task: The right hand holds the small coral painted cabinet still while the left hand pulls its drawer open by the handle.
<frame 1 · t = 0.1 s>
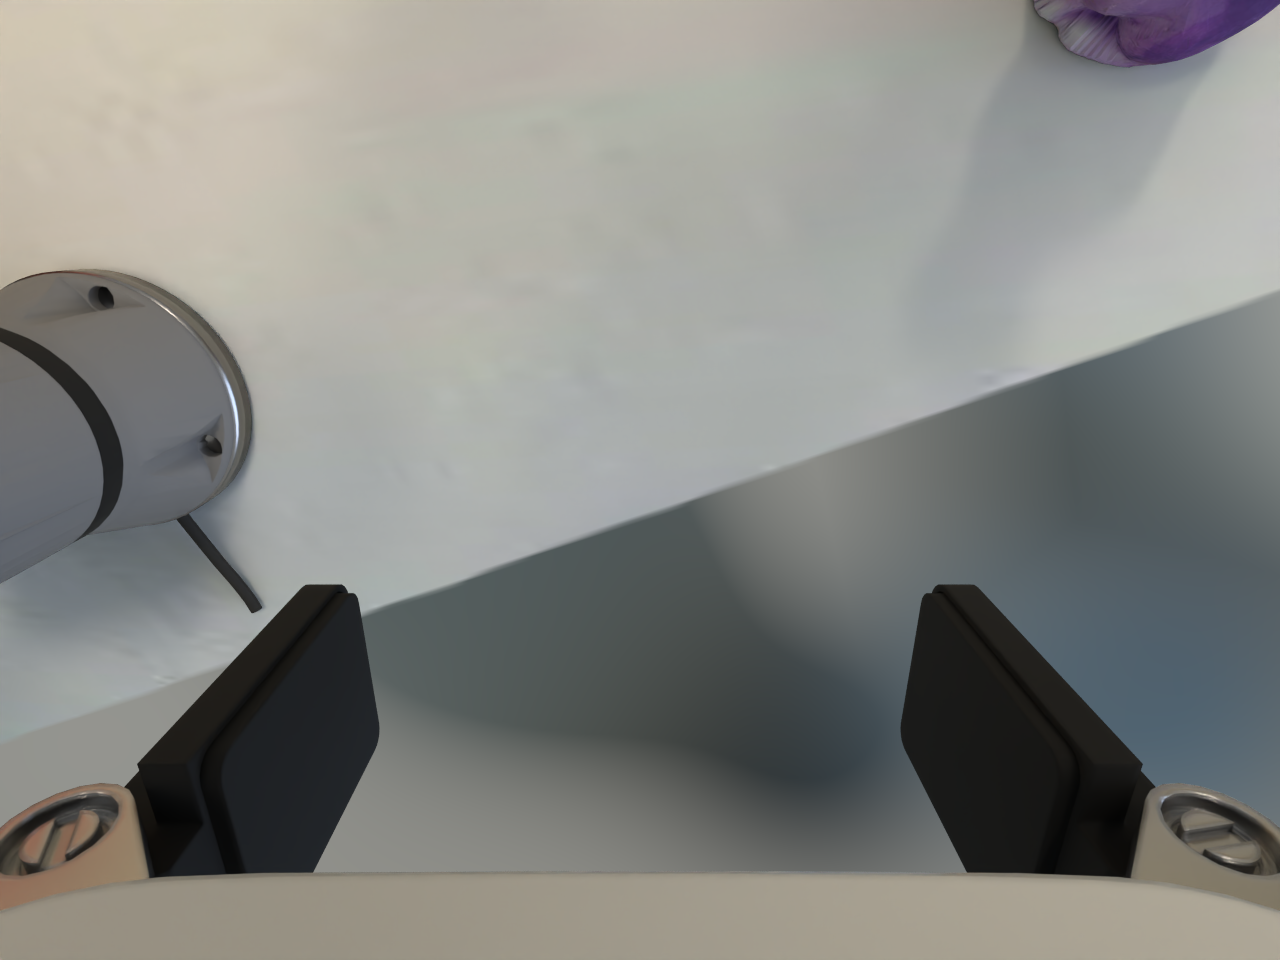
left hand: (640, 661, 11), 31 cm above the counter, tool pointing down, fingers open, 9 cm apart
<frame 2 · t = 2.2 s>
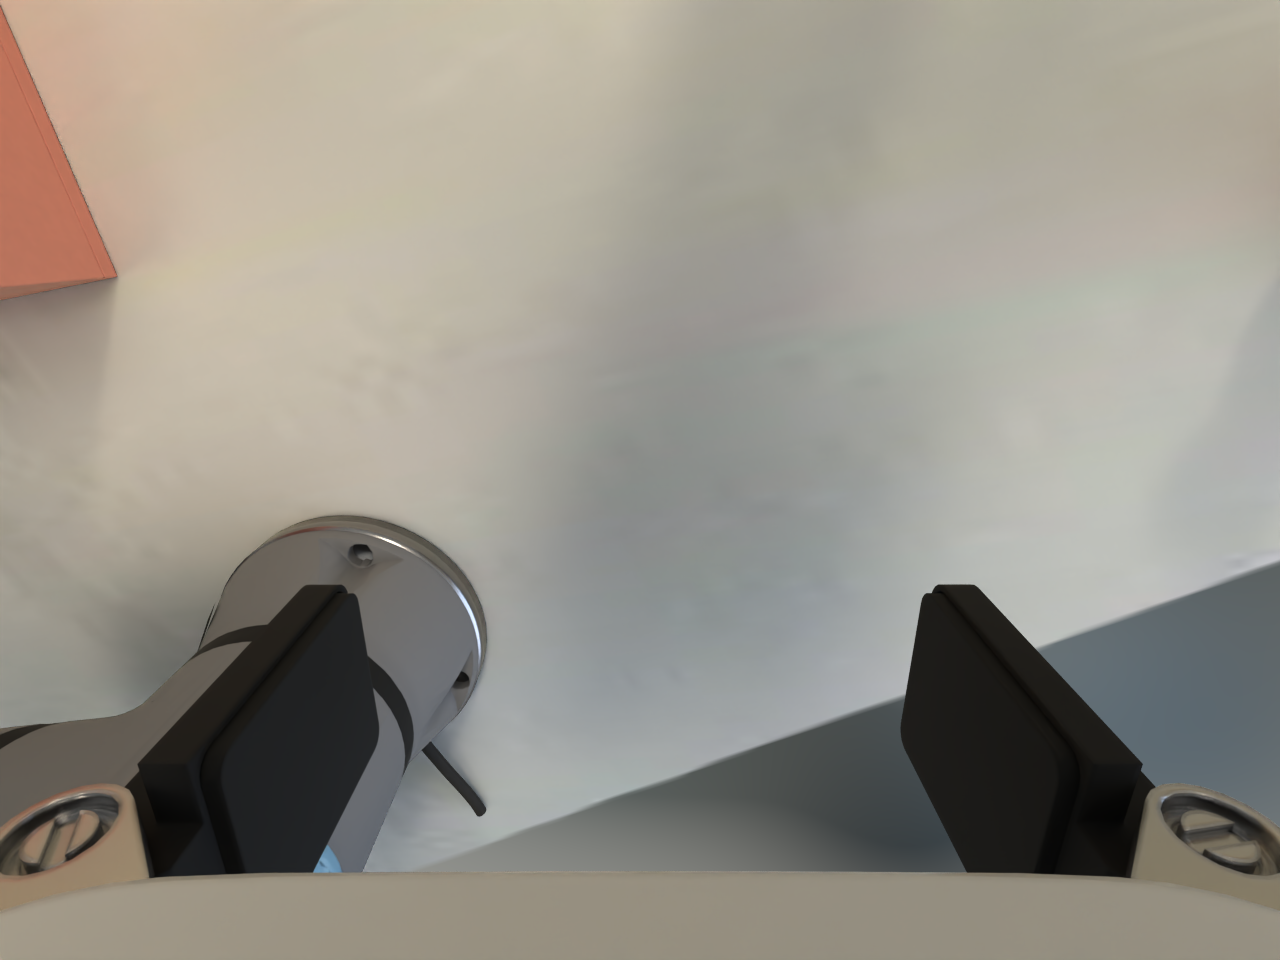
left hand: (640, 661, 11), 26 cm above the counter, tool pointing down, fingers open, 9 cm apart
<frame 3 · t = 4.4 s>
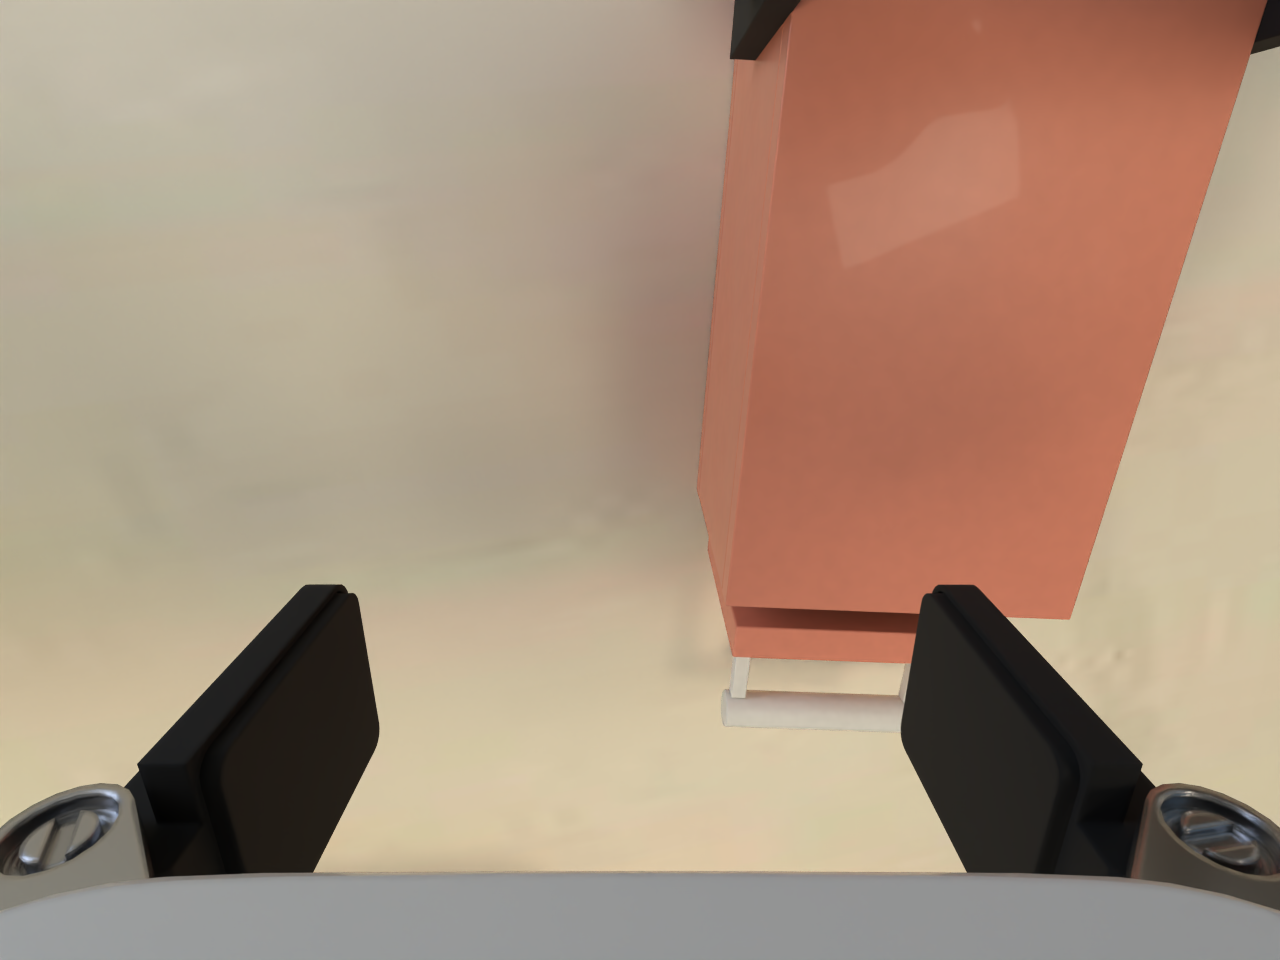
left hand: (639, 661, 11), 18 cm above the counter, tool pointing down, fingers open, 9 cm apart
drawer: (868, 444, 24), point 5 cm above the counter, slide at 1.3 cm
cabinet: (854, 257, 26), on the counter, touching right hand
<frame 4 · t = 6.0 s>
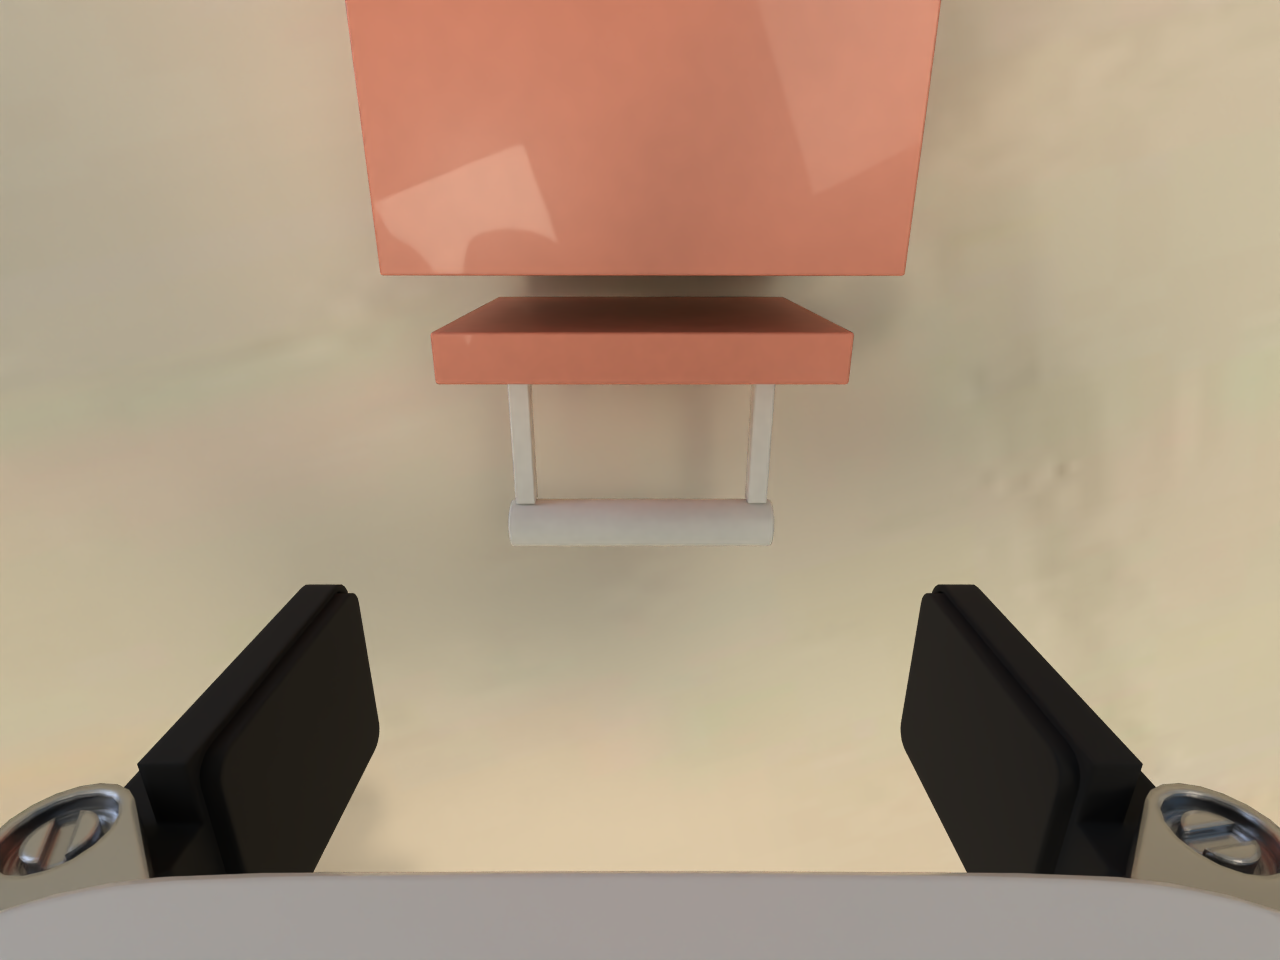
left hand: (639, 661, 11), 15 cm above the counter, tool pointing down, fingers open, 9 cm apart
drawer: (641, 98, 17), point 5 cm above the counter, slide at 1.3 cm
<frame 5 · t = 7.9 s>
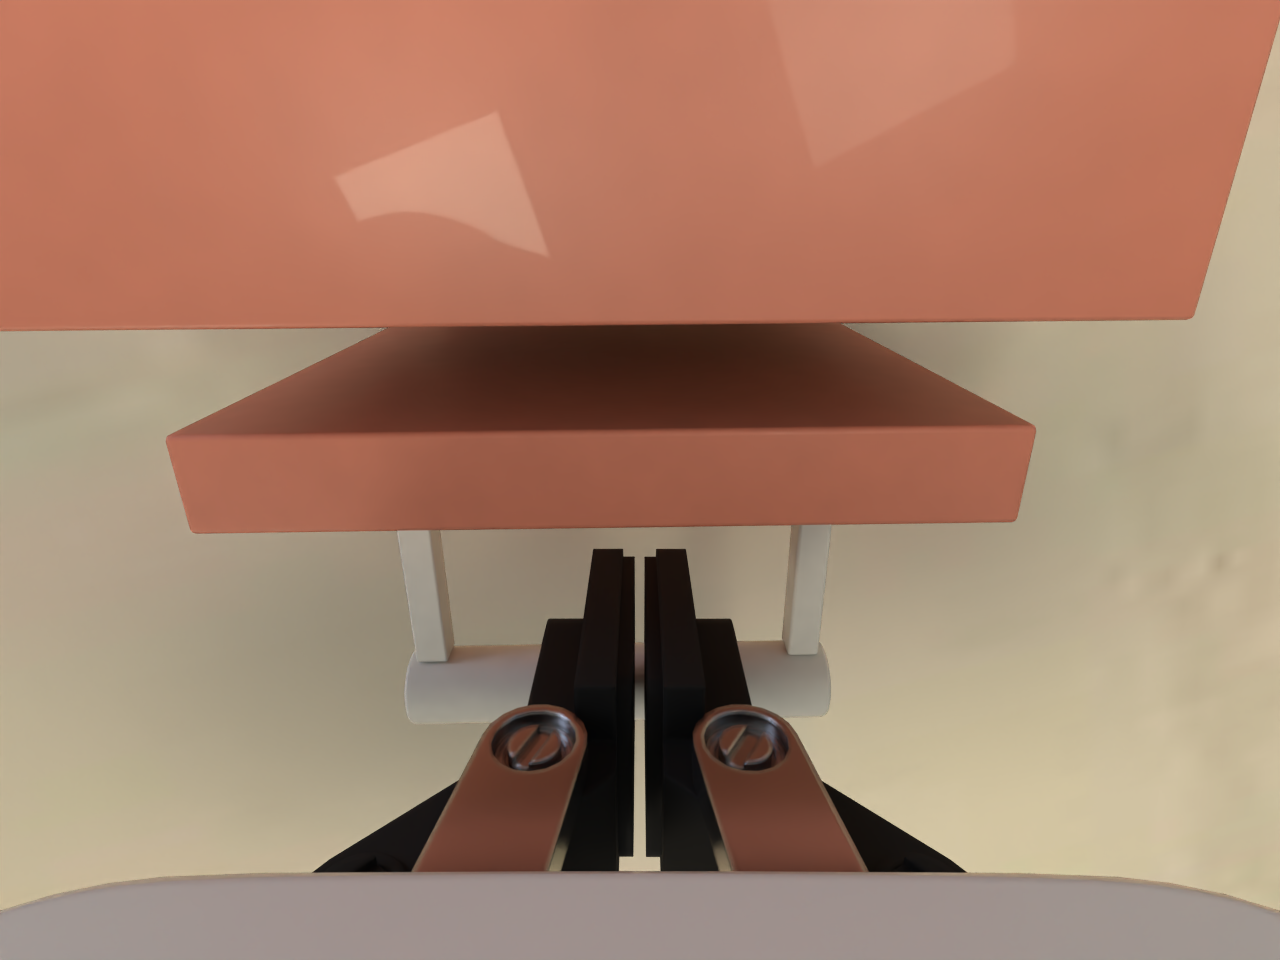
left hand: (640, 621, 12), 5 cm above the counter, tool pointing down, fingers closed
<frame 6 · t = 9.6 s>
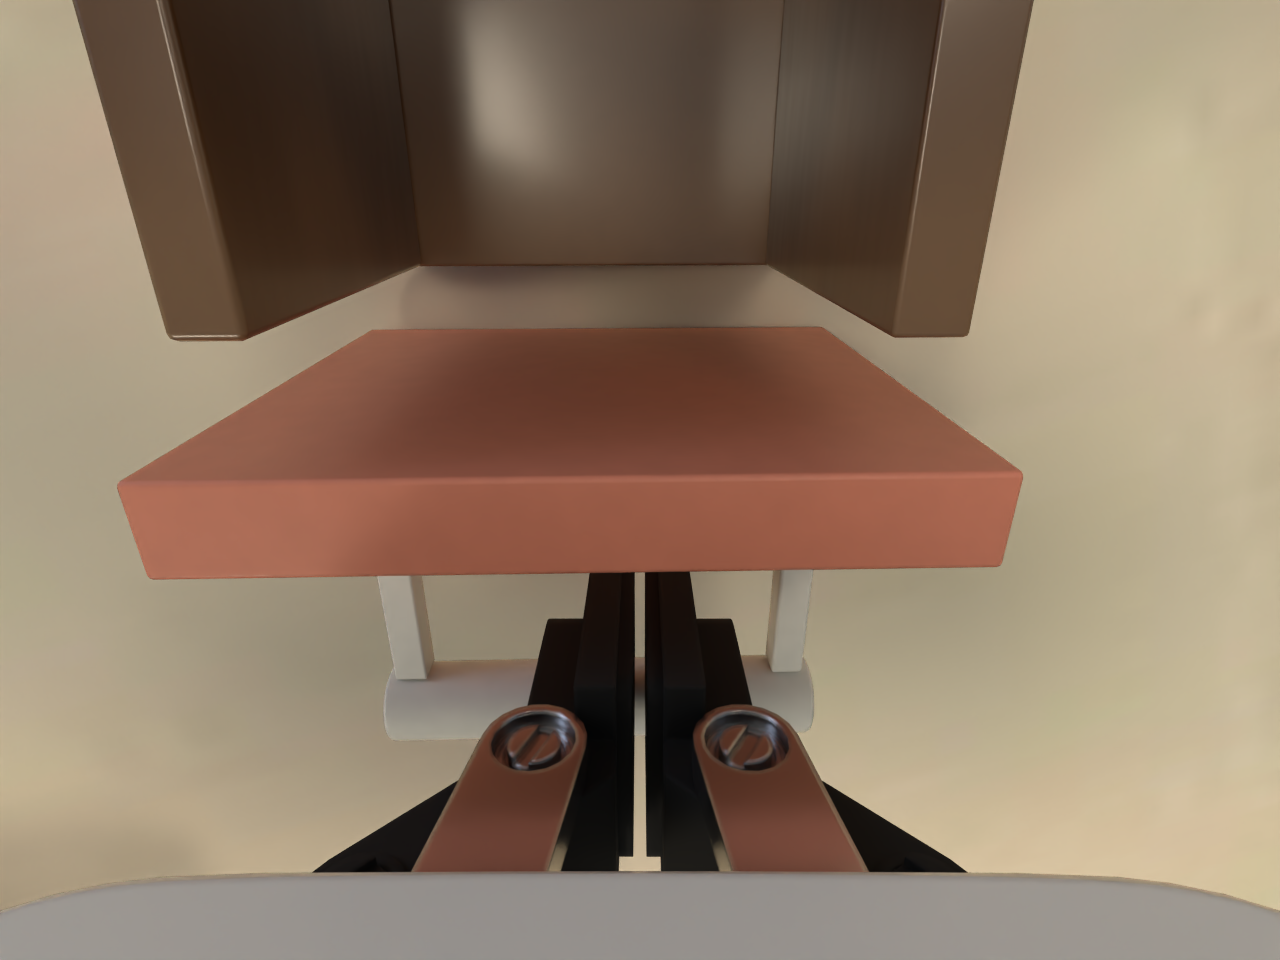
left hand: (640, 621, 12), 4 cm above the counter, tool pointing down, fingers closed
when the right hand's fingers open (5 cm above the counter, at t = 11.4 s): cabinet stays where it is, on the counter.
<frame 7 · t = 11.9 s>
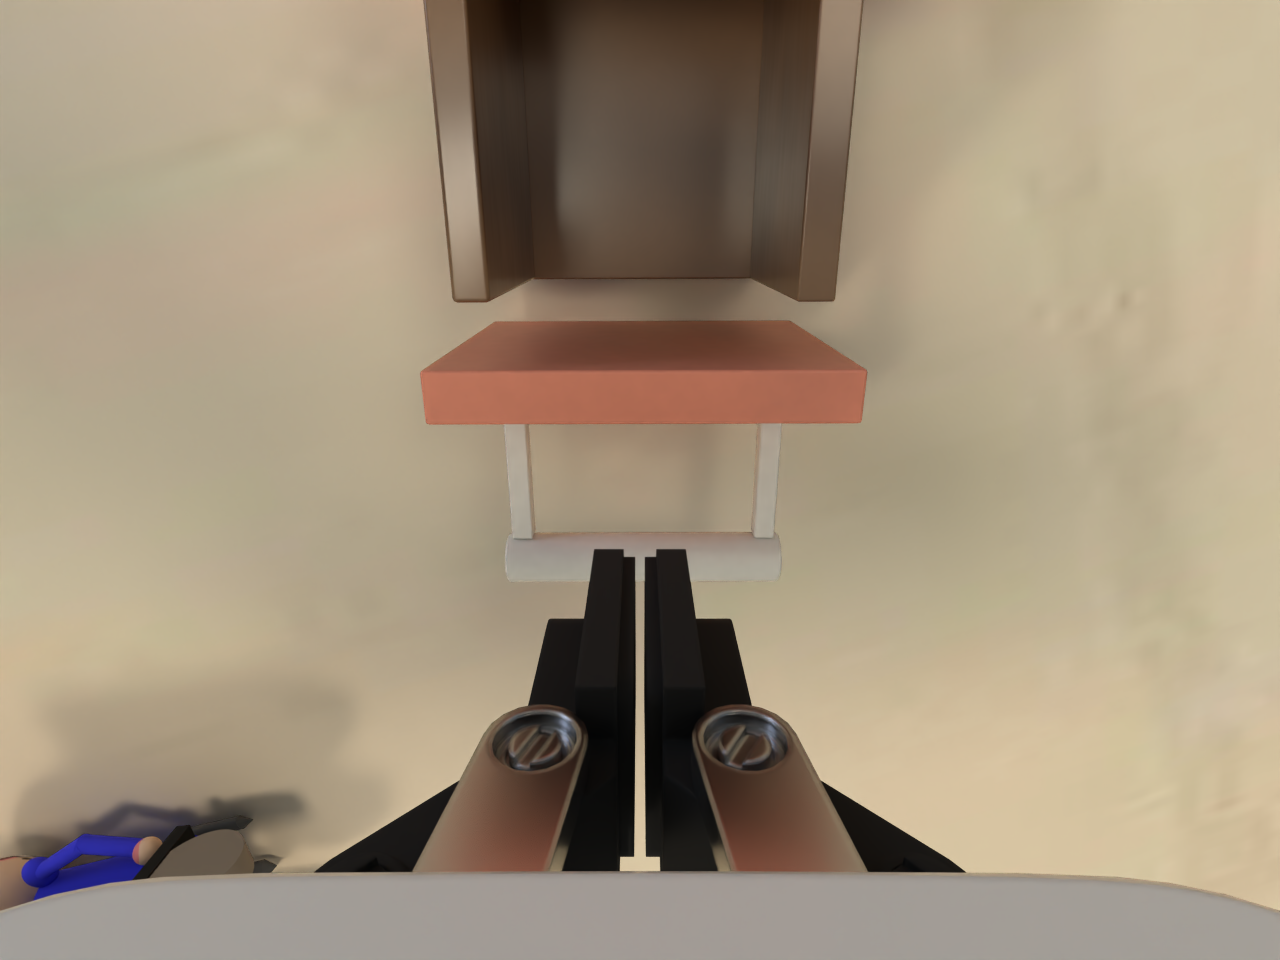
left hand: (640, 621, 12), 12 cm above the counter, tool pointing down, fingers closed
drawer: (642, 120, 16), point 5 cm above the counter, slide at 8.3 cm
figurine character: (153, 850, 31), on the counter
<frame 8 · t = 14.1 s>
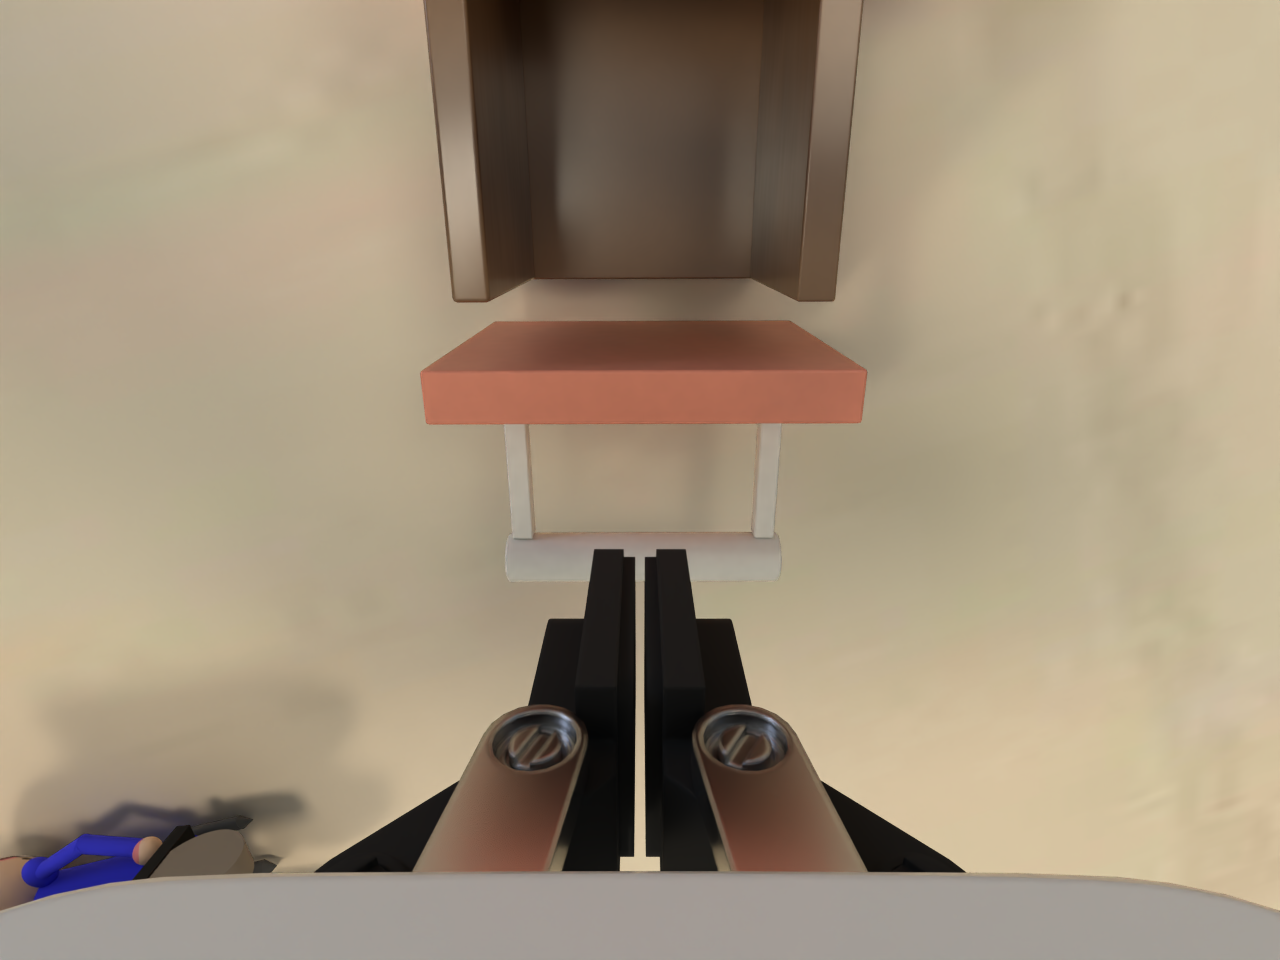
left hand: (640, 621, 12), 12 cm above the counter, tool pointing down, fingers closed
drawer: (642, 120, 16), point 5 cm above the counter, slide at 8.3 cm
figurine character: (153, 850, 31), on the counter
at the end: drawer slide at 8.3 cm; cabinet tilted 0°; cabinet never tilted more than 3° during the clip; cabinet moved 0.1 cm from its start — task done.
